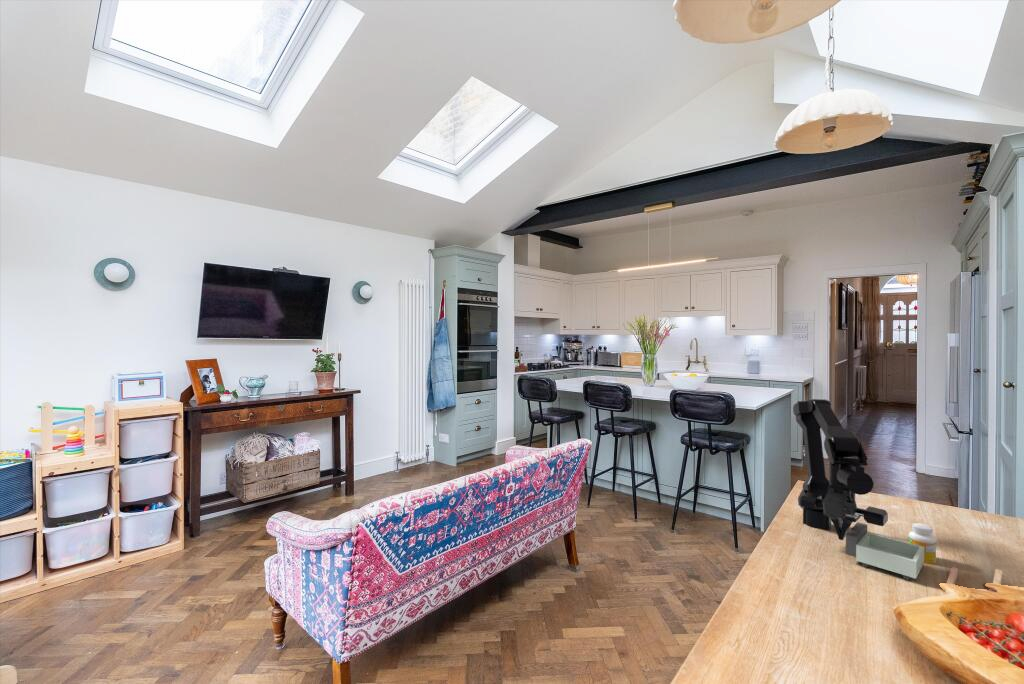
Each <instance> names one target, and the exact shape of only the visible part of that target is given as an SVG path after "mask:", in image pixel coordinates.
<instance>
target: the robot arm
mask: <svg viewBox="0 0 1024 684" xmlns="http://www.w3.org/2000/svg"><path fill="white" fill-rule="evenodd" d="M831 406H832V405H831V402H830V401H829V400H827V399H818V398H813V399H808V400H804V401H803V400H798V401H797V402H796V403H795V404H793V406H792V409H793V415H795V420H796V421H795V422H796V423H797V424H798V425H799V427H801V429H802V433H803V441H804V452H805V453H804V454H805V461H806V464H805V465H806V473H807V477H806V479H805V480H804V482H803V484H802V490H801V492H800V493H799V496H798V497H797V501H798V502H797V503H798V505H797V506H799V507H800V508H801V509H802V524H803V525H806V526H808V527H809V528H813V529H818V530H825V531H830V530H831V529H832V525H833V527H834V530H835V532H836V534H837V538H838V539H839V541H844V539H845V538H846V534H847V533H848V532H849V529H850V527H851V525H852V524H853V523H857V522H858V521H859V519H861V517H863V519H864V521H865V522H866V523H867V524H871V525H875V526H879V527H884V526H885V525H886V523H887V522H888V521H889V514H888V511H886V510H885V509H882V508H878V507H874V506H867V508H866V509H864V508H861V507H858V505H857V502H856V495H859V496H861V495H862V496H863V495H867V494H869V493H871V491H873V489H874V481H873V478H872V477H871V476H870V475H869V474H868V473H867V472H865V467H867V466H868V462H867V461H868V456H867V454H866V452H865V450H864V447H863V445H862V443H861V441H860V440H859V439H858V437H857V436H856V435H855V434H854V433H853V432H852V431H850V430H848V429H846V428H844V427H843V425H842V423H841V422H840V420H839V418H838V416H837V415H836V413H835V411H834V410H833V409H832V407H831ZM821 431H822V433H823V434H824V442H823V441H822V433H821ZM823 447H824V449H823ZM824 450H825V453H826V455H827V457H828V458H827V459H828V461H829V479H828V478H827V476H826V475H827V474H826V469H825V468H826V467H825V460H824V458H825V457H824ZM863 466H864V467H863Z"/></svg>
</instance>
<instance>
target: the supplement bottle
mask: <svg viewBox="0 0 1024 684" xmlns="http://www.w3.org/2000/svg"><path fill="white" fill-rule="evenodd" d="M911 524H912V525H911V528H912V530H911V531H910V532H909V533H908V543H912V544H915V545H919V546H923V547H924V564H931V565H932V564H936V561H937V539H936V537H935V536H934V535H933V527H932V526H930V525H928V524H924V523H919V522H918V523H917V522H915V523H911Z"/></svg>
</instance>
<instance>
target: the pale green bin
mask: <svg viewBox="0 0 1024 684" xmlns="http://www.w3.org/2000/svg"><path fill="white" fill-rule="evenodd" d="M845 554H846V555H850V556H853V557H855V561H856V562H860V563H862V564H861V566H862V567H863V568H864V569H867V568H868V567H869V566H873V567H876V568H879V569H883V570H886V571H890V572H892V573H896V574H899V575H902V576H903V578H902V579H904V581H906V582H907V581H910V579H911V578H912V579H917V578H918V575H919V573H920V572H921V570H922V567H923V566H924V564H925V563H924V547H923V546H919V545H915V544H912V543H909V541H907V542H906V541H904V540H901V539H900V540H899V539H896V538H892V537H888V536H884V535H880V534H877V533H873V532H869V531H868V523H867V524H866V523H862V522H858V521H856V522H855V524H854V525H853V526H852V527H851V528H850V530H848V531H847V533H846V535H845Z"/></svg>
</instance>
